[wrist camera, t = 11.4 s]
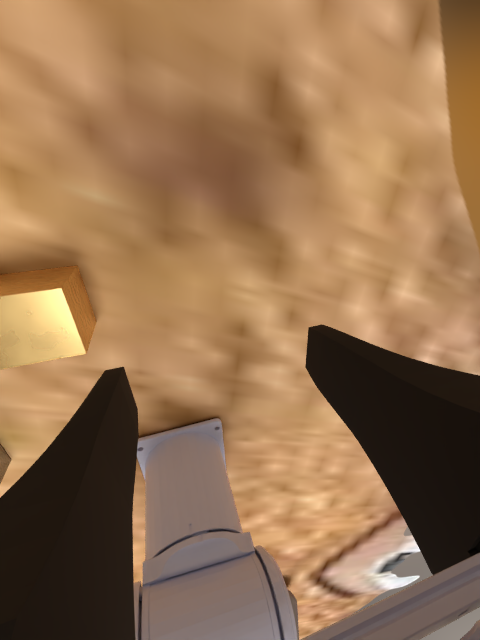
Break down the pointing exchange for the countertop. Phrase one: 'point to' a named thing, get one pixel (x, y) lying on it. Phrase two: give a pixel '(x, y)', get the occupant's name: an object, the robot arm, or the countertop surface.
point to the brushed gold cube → (43, 316)
